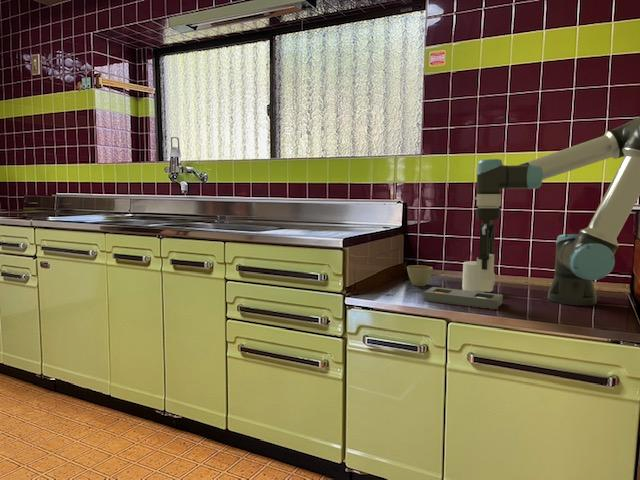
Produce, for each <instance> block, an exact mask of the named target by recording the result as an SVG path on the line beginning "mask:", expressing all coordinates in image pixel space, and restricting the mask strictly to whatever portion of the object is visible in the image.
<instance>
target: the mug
mask: <svg viewBox="0 0 640 480" xmlns="http://www.w3.org/2000/svg"><path fill="white" fill-rule="evenodd" d="M462 264H463V265H462V283H461V284H462V286H461V287H462V288H461V290H465V291H474V292H483V293H486V291H478V281H479V265H477V260H476V261H473V260H472V261H471V260H470V261H469V260H468V261H464V262H463V263H462ZM496 280H497V279H496V273H495V272H494V280H493V287H494V286H495V283H496Z"/></svg>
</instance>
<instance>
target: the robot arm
mask: <svg viewBox="0 0 640 480" xmlns="http://www.w3.org/2000/svg"><path fill="white" fill-rule="evenodd" d="M623 157H624V158H623ZM610 158H612V159H614V160H617V159H620V158H623V159H622V161H621V163H620V165H619V167H618V169H617V171H616V172H615V174H614V176H613V177H612V180H611V181H610V184H609V186H608V188H607V189H606V192H605V193H604V196H602V197H603V198H602V199H601V202H600V203H599V205H598V207H597V209H596V211H595V212H594V214H593V217H592V218H591V220H590V222H589V224H588V226H587V227H585V228H583V229H580V230H579V232H578V233H577V234H572V233H571V234H559V235H558V236H557V238H556V242H555V246H556V247H555V260H554V264H555V265H554V276H553V279H552V282H551V285H550V287H549V289H548V292H547V299H548V301H552V302H554V303H558V304H564V305H569V306H582V307H583V306H594V305H596V304H597V301H598V297H597V292H596V289H595V286H594V282H593V281H597V280H601V279H603V278H605V277H607V276H608V275H609V274H610V273H612V271H613V270H614V268H615V264H616V263H615V262H616V260H615V254H616V251H617V250H618V249H619V246H620V244H619V242H618V240H617V238H618V237H619V235H620V232H621V231H622V229H623V227H624V226H625V223H626V221H627V220H628V217H629V216H630V215H631V212H632V211H633V209H634V207H635V205H636V203H637V201H638V199H639V198H640V116H639V117H638V116H637V117H636V118H634V119H632V120H630V121H628V122H626V123H624V124H622V125H620V126H618V127H616V128H612V129H610V130H607V131H605V133H604V135H602V136H598V137H597V138H593V139H590V140H587V141H585V142H581V143H578V144H576V145H572V146H570V147H567V148H564V149H561V150H558V151H556V152H552V153H550V154H547V155H544V156H540V157H537V158H535V159H532V160H530V161H527V162H524V163H521V164H518V165H514V164H513V165H506V164H505V165H504V164H503V160H502V159H498V158H493V159H492V158H491V159H490V158H487V159H481V160H479V161H478V162H477V171H476V173H477V174H476V196H475V197H474V200H476V207H477V208H476V209H475V218H476V220H482V222H481V225H480V228H479V229H478V230H479V253H478V254H479V255H478V257H477V258H478V259H481V267H480V279H487V280H489V268H490V260H489V254H494V258H496V254H495V236H496V235H495V234H496V225H495V224H494V221H496V220H497V221H498V220H500V219H501V210H502V209H501V208H500V207H501V205H502V189H503V190H509V189H510V190H533V189H535V190H536V189H539V188H541V186H542V184H543V181H544V180H546V179H549V178H553V177H556V176H558V175H562V174H565V173H567V172H570V171H571V172H572V171H573V170H577V169H580V168H583V167H586V166H589V165H593V164H596V163H598V162H601V161H604V160H609V159H610Z"/></svg>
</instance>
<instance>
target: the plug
mask: <svg viewBox="0 0 640 480" xmlns="http://www.w3.org/2000/svg"><path fill="white" fill-rule="evenodd" d="M494 255H495V253H494V254H489V260H490V268H489V280H487V279H480V267H481V259H478V257H476V261H477V265H479V281H478V291H485V293H491V292H492V291H493V290H494V286H493V283H494V280H495V279H494V273H495V257H494Z"/></svg>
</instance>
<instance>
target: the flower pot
mask: <svg viewBox="0 0 640 480" xmlns="http://www.w3.org/2000/svg"><path fill="white" fill-rule="evenodd" d="M406 270H407V274H408V278H409V280H410V282H411V284H412V285H413V286H416V287H425V286H426V285H427V284H428V283H429V280H430V279H431V276H432V273H433V270H434V269H433V266H428V265H408V266H406Z"/></svg>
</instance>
